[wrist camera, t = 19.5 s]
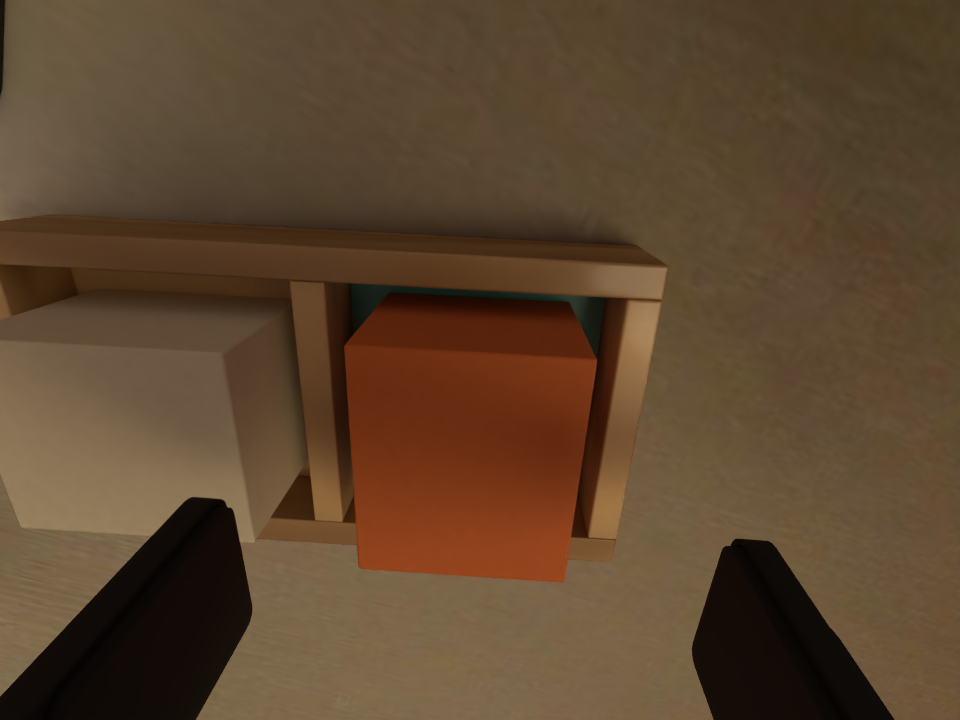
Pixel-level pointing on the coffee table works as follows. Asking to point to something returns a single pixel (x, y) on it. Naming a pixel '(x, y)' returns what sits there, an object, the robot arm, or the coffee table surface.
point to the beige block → (149, 409)
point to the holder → (345, 307)
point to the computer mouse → (1, 38)
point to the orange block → (468, 434)
